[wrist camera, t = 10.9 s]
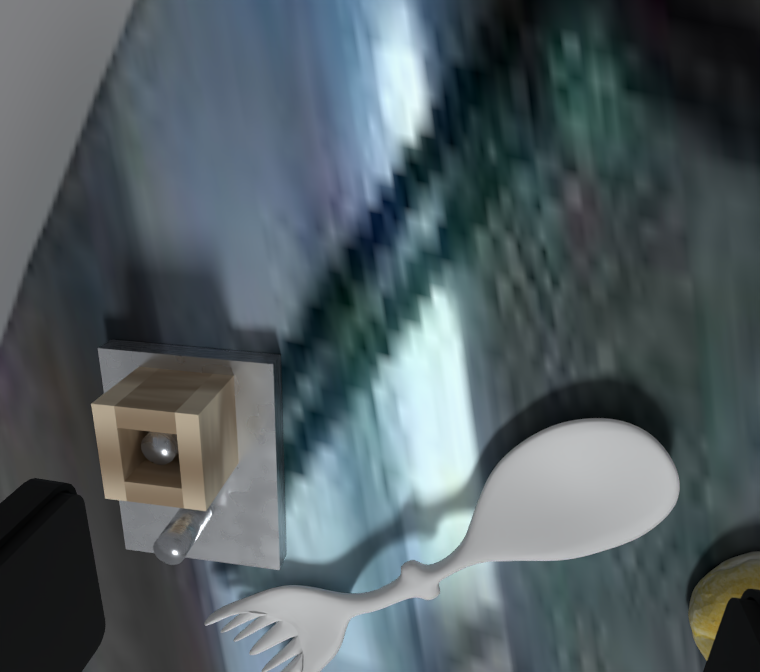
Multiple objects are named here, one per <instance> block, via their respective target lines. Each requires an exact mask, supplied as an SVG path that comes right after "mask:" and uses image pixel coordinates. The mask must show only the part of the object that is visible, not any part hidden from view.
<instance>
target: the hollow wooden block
mask: <svg viewBox="0 0 760 672" xmlns="http://www.w3.org/2000/svg"><path fill="white" fill-rule="evenodd" d="M91 405H92V412H93V419H94V425H95V432H96V439H97V446H98V452H99V459H100V466H101V472H102V479H103V486H104V493H105V498H106V499H113V500H121V501H129V502H137V503H145V504H153V505H161V506H169V507H177V508H184V509H192V510H200V511H207V509H208V508H209V506H210V505H211V503H212V502H213V500H214V499H215V497H216V496H217V494H218V493H219V491H220V490H221V488H222V487H223V485H224V484H225V483H226V481H227V480H228V478H229V477H230V475H231V474H232V472H233V471H234V469H235V468H236V466H237V465H238V463H239V458H238V441H237V423H236V406H235V388H234V376H231V375H221V374H210V373H200V372H190V371H179V370H169V369H158V368H148V367H138V368H137V369H135V370H134V371H133V372H131V373H130V374H129V375H128V376H126V377H125V378H124V379H122V380H121V381H120V382H119V383H117V384H116V385H115V386H113V387H112V388H111V389H110V390H108V391H107V392H106V393H104V394H103V395H102V396H101V397H99V398H98V399H97V400H95V401H94V402H93V403H92V404H91ZM150 431H151V432H160V433H169V434H177V441H178V452H179V453H178V454H177V455H176V457H175V458H174V459H173V460H172V461H171V462H170V463H168V464H165V465H158V464H155V463H152V462H151V461H149V460H148V459H147V458H146V457H145V456H144V454H143V452H142V450H141V442H142V440H143V438H144V437H145V436H146V435H147V434H148V433H149V432H150Z"/></svg>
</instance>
